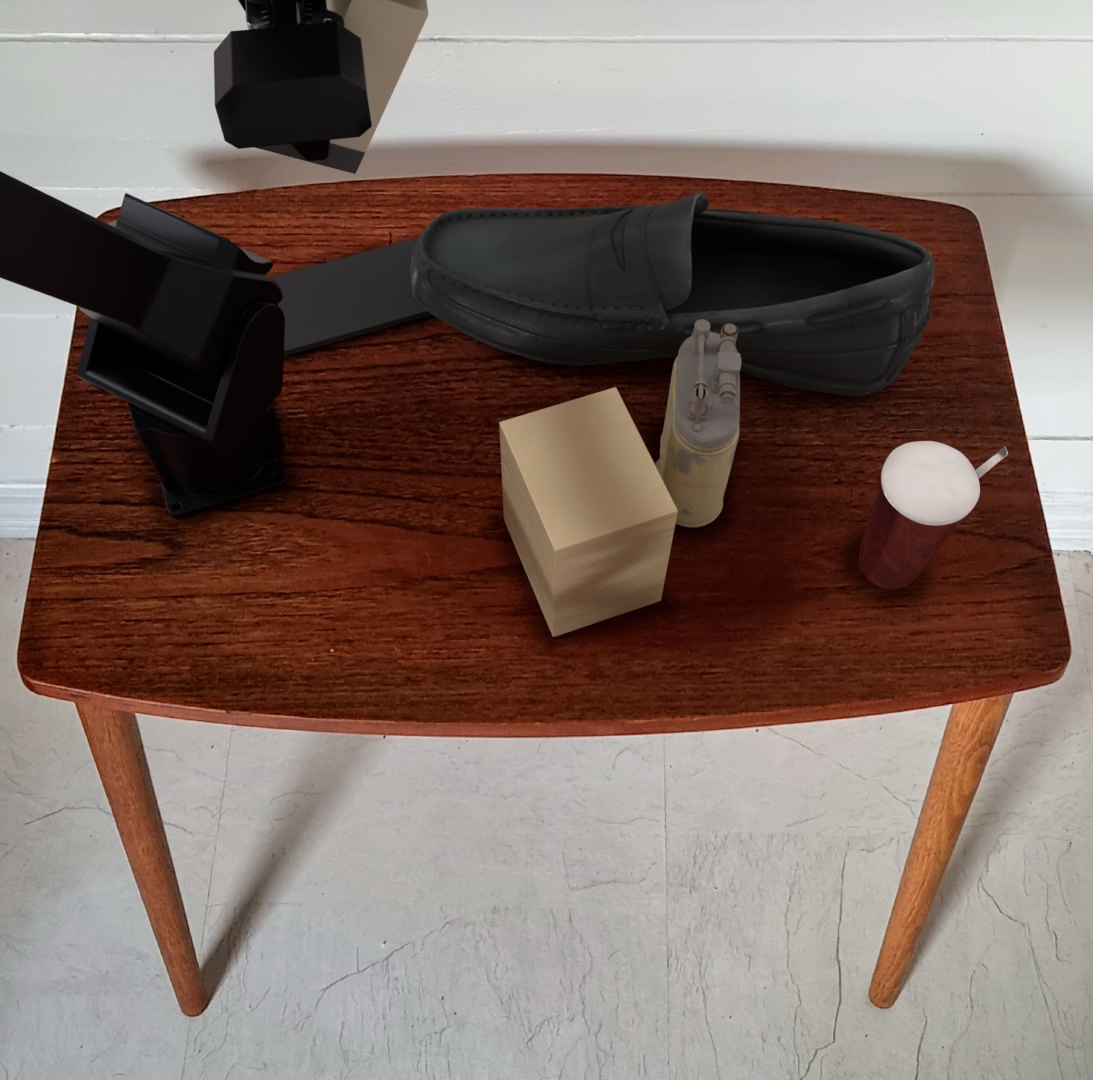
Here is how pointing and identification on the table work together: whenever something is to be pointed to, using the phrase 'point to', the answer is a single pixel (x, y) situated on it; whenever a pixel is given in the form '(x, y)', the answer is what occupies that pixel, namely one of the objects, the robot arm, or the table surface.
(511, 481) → the stand
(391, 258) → the shoe mat
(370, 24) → the white block
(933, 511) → the milkshake
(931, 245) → the table surface
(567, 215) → the loafer
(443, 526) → the table surface
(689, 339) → the lighter
